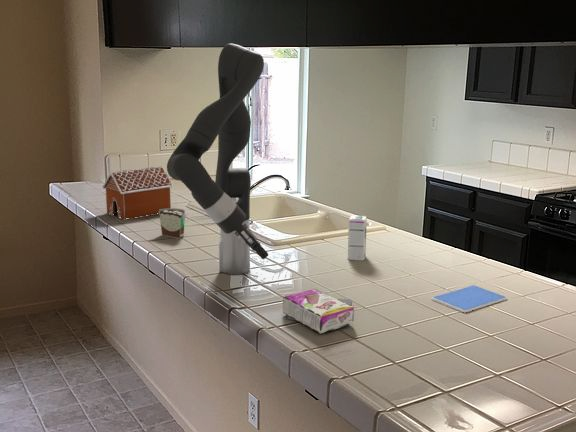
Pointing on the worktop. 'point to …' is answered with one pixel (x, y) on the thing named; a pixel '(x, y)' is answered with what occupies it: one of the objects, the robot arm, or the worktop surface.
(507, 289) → the worktop surface
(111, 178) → the gingerbread house
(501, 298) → the tablet computer
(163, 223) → the food container
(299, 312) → the candy bar box
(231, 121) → the robot arm
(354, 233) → the syrup box
